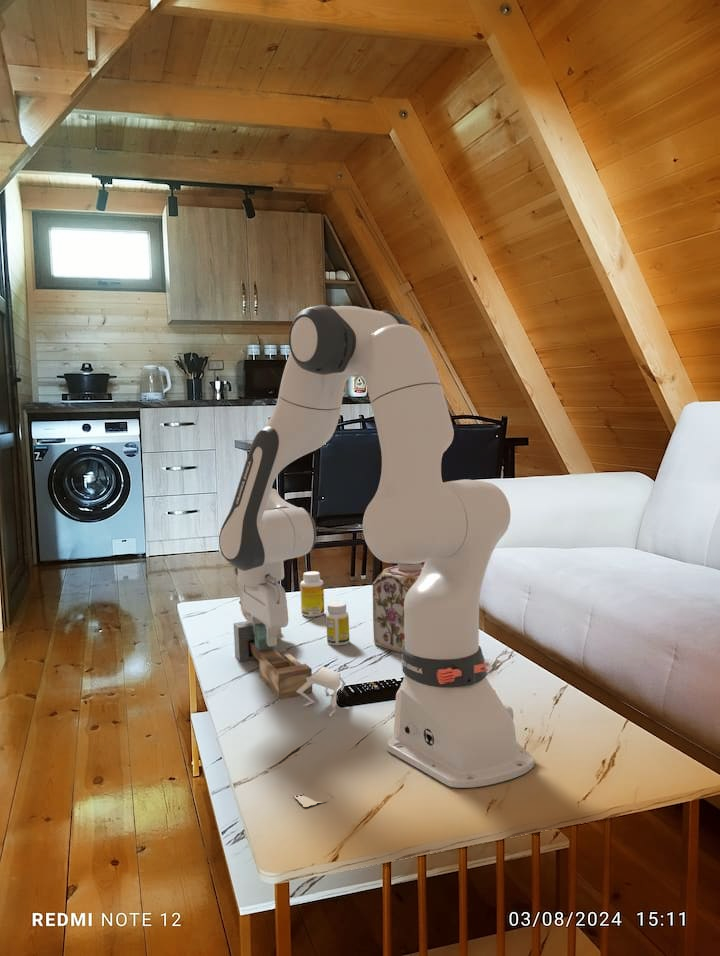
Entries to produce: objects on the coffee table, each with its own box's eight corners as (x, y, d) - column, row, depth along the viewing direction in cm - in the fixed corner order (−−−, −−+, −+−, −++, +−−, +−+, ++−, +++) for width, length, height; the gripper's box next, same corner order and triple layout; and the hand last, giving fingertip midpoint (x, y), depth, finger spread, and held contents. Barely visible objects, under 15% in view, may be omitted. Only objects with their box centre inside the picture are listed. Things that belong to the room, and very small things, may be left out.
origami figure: (289, 699, 136) (288, 672, 135) (332, 690, 139) (331, 663, 139) (319, 724, 125) (318, 694, 125) (364, 712, 129) (363, 684, 128)
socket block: (277, 655, 159) (276, 621, 158) (239, 661, 156) (238, 627, 155) (272, 650, 162) (271, 617, 161) (235, 656, 159) (233, 623, 158)
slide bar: (288, 672, 145) (286, 637, 145) (272, 675, 144) (271, 639, 143) (262, 648, 160) (261, 616, 159) (248, 650, 159) (247, 618, 158)
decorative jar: (372, 645, 164) (369, 561, 162) (411, 632, 171) (409, 552, 170) (412, 658, 155) (410, 569, 153) (452, 644, 163) (450, 559, 161)
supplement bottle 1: (326, 616, 186) (325, 574, 185) (303, 618, 185) (301, 576, 184) (322, 610, 191) (320, 569, 190) (299, 612, 190) (298, 571, 189)
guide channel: (312, 692, 138) (311, 668, 138) (280, 699, 136) (279, 674, 135) (290, 671, 149) (289, 649, 149) (260, 677, 147) (259, 654, 146)
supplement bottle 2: (350, 639, 168) (349, 601, 167) (348, 646, 163) (346, 607, 163) (328, 639, 169) (327, 601, 168) (325, 646, 164) (324, 607, 163)
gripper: (294, 577, 143) (298, 651, 144) (261, 560, 162) (265, 626, 163) (261, 582, 141) (265, 657, 142) (231, 564, 159) (235, 630, 160)
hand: (265, 640), depth 152 cm, fingers open, 6 cm apart
